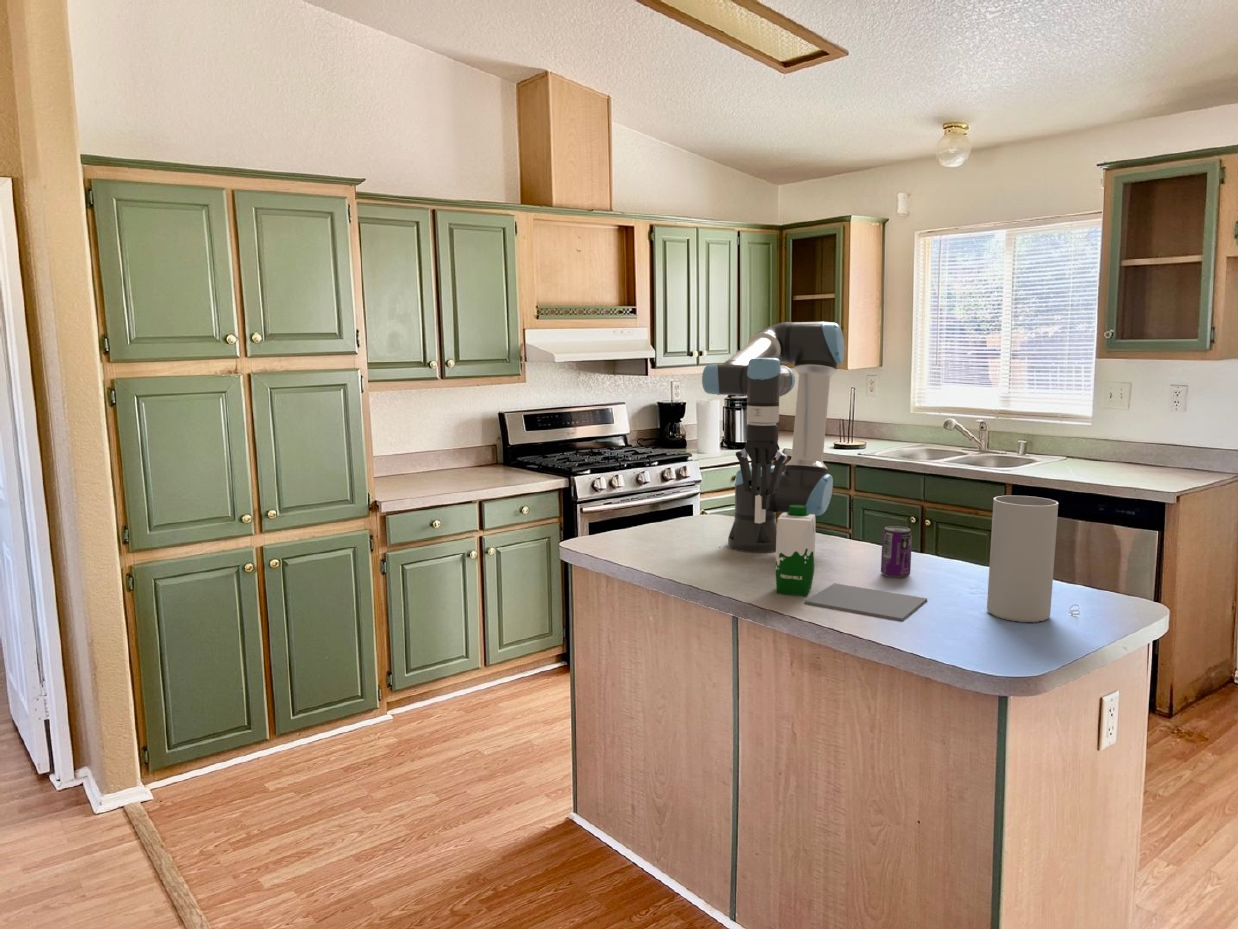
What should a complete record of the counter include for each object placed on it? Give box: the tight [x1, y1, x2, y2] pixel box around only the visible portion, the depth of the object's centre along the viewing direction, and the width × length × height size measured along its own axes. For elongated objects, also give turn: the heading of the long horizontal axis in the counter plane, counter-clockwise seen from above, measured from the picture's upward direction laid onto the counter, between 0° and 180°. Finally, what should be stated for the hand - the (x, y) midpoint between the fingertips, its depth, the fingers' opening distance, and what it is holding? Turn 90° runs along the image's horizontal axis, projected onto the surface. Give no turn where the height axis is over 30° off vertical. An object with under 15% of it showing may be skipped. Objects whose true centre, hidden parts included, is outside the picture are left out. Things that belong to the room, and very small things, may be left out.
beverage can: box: [880, 525, 913, 579], centre depth 224 cm, size 7×7×12 cm
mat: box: [803, 583, 928, 622], centre depth 201 cm, size 22×18×1 cm
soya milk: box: [775, 505, 816, 597], centre depth 209 cm, size 9×9×20 cm
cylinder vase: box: [986, 495, 1059, 623], centre depth 191 cm, size 12×12×25 cm
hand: (760, 522), depth 213 cm, fingers closed
